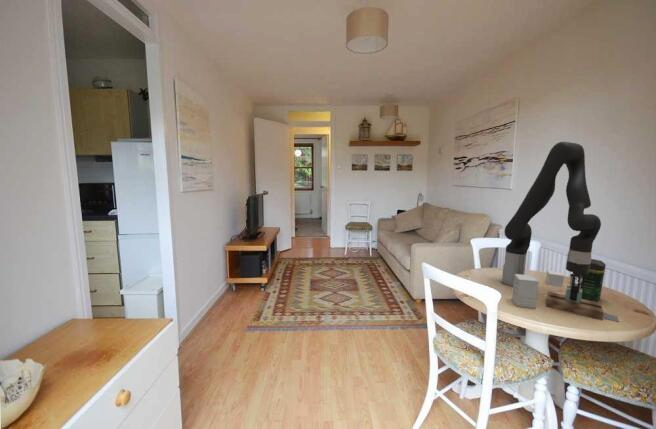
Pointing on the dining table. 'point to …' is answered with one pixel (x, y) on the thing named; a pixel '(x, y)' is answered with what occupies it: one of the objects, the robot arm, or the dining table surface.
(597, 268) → the coffee jar
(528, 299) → the supplement box
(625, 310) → the dining table surface
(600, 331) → the dining table surface
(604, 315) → the mat
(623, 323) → the dining table surface
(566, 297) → the stub
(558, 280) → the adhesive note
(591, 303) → the wooden slotted block
